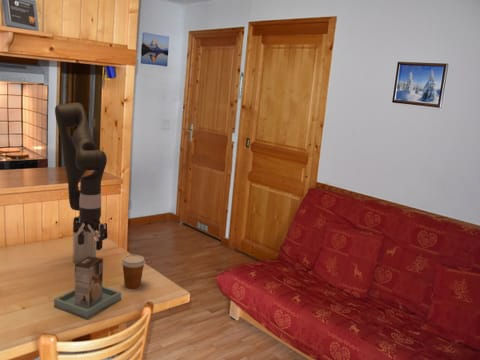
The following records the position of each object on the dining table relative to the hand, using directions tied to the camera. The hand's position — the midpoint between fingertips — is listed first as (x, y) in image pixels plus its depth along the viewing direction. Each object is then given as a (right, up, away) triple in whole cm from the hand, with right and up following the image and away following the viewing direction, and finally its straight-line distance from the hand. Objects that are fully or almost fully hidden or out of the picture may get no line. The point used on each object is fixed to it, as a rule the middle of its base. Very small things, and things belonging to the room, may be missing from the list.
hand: (89, 247), depth 163 cm
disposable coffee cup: (+10, -20, +22) cm, 31 cm away
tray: (-2, -22, +5) cm, 23 cm away
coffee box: (-2, -21, +4) cm, 22 cm away
